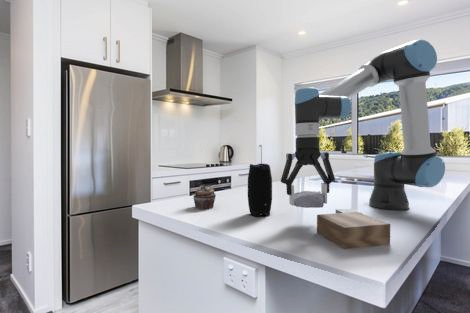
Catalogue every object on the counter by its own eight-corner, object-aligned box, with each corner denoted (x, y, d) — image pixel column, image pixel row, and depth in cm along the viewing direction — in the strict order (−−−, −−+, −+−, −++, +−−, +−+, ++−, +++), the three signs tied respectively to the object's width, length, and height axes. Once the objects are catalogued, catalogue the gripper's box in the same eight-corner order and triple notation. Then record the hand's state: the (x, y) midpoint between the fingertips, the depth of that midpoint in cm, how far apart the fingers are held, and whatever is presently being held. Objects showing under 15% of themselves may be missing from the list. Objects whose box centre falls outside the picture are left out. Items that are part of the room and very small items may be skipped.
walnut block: (356, 230, 92) (357, 211, 92) (389, 245, 79) (390, 223, 78) (316, 234, 89) (317, 214, 89) (344, 250, 75) (344, 227, 75)
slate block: (351, 223, 100) (352, 208, 100) (361, 228, 94) (361, 212, 94) (335, 223, 99) (335, 209, 99) (344, 228, 93) (344, 213, 93)
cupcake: (196, 204, 131) (196, 182, 131) (217, 205, 130) (217, 183, 129) (190, 209, 122) (190, 186, 121) (213, 210, 120) (212, 186, 120)
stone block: (295, 213, 92) (326, 207, 91) (291, 198, 92) (323, 192, 91) (293, 206, 104) (321, 200, 103) (290, 193, 104) (318, 187, 103)
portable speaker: (273, 217, 108) (273, 164, 107) (248, 217, 108) (248, 165, 107) (270, 211, 117) (270, 163, 116) (247, 211, 117) (247, 163, 116)
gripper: (276, 137, 90) (277, 208, 91) (346, 135, 92) (346, 204, 94) (270, 137, 97) (271, 203, 98) (335, 135, 100) (335, 199, 101)
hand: (308, 203), depth 96 cm, fingers closed on stone block, 10 cm apart
